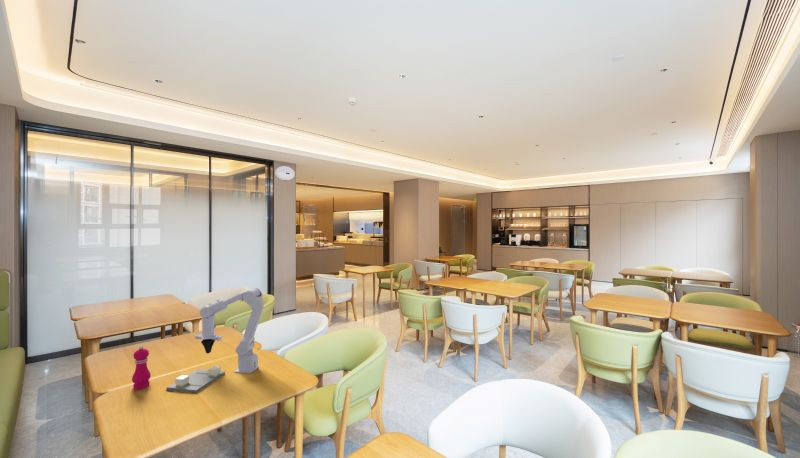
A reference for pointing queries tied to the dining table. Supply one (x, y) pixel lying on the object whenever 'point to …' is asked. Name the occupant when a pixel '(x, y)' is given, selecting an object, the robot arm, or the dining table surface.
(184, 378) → the left knob
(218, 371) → the right knob
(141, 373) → the pepper mill
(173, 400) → the dining table surface
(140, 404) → the dining table surface
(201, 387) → the switch board
